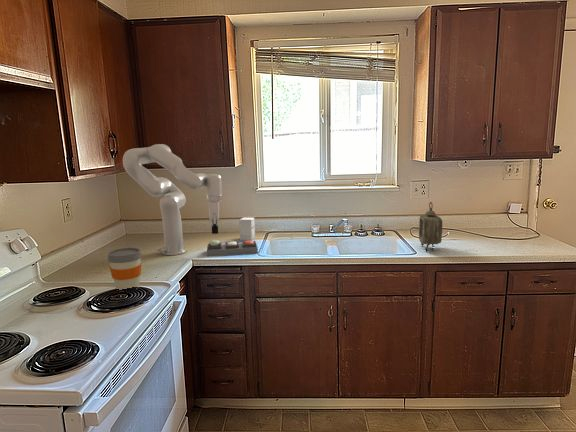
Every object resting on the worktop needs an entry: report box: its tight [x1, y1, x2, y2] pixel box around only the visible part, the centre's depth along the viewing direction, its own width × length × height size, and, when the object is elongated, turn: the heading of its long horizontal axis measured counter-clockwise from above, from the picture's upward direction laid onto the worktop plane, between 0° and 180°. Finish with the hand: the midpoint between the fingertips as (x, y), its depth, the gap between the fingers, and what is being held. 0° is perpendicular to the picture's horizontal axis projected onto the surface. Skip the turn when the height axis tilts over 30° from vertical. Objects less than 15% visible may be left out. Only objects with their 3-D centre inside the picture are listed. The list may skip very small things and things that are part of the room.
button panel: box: [206, 240, 259, 257], centre depth 214 cm, size 26×10×4 cm, turn 99°
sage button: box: [209, 239, 220, 246], centre depth 212 cm, size 5×5×2 cm
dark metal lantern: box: [418, 201, 443, 251], centre depth 211 cm, size 14×9×25 cm, turn 171°
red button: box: [244, 240, 255, 244], centre depth 215 cm, size 5×5×2 cm
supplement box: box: [238, 217, 256, 241], centre depth 239 cm, size 7×7×13 cm
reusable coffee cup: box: [107, 247, 142, 290], centre depth 165 cm, size 13×13×15 cm
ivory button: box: [227, 241, 238, 245], centre depth 214 cm, size 5×5×2 cm
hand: (215, 233), depth 211 cm, fingers closed
